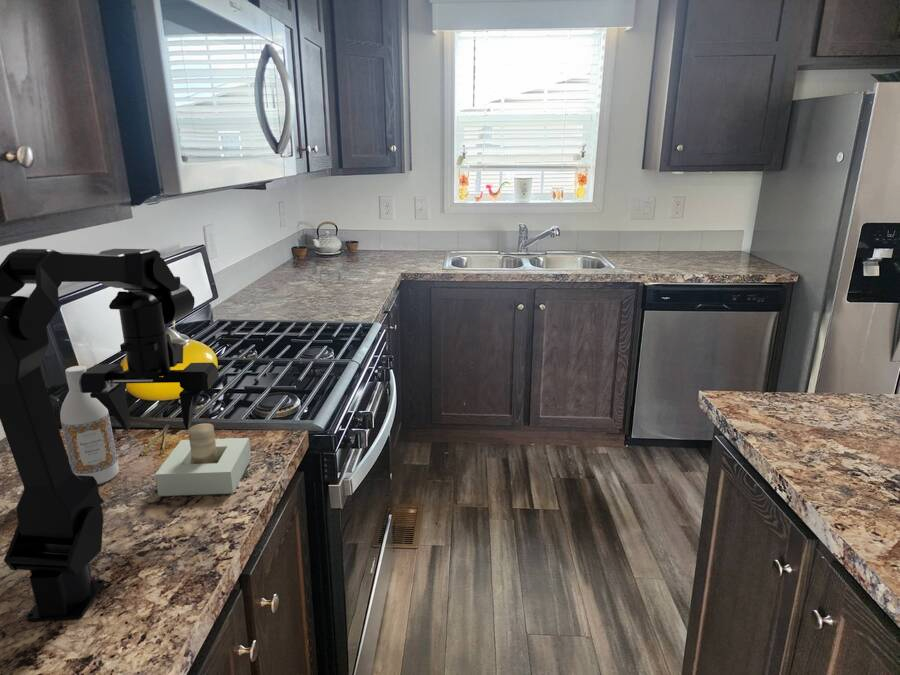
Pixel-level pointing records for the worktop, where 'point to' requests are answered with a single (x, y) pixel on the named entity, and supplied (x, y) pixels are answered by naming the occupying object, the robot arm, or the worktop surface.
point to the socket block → (204, 469)
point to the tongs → (155, 440)
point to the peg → (203, 444)
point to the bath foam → (87, 432)
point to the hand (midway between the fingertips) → (158, 428)
